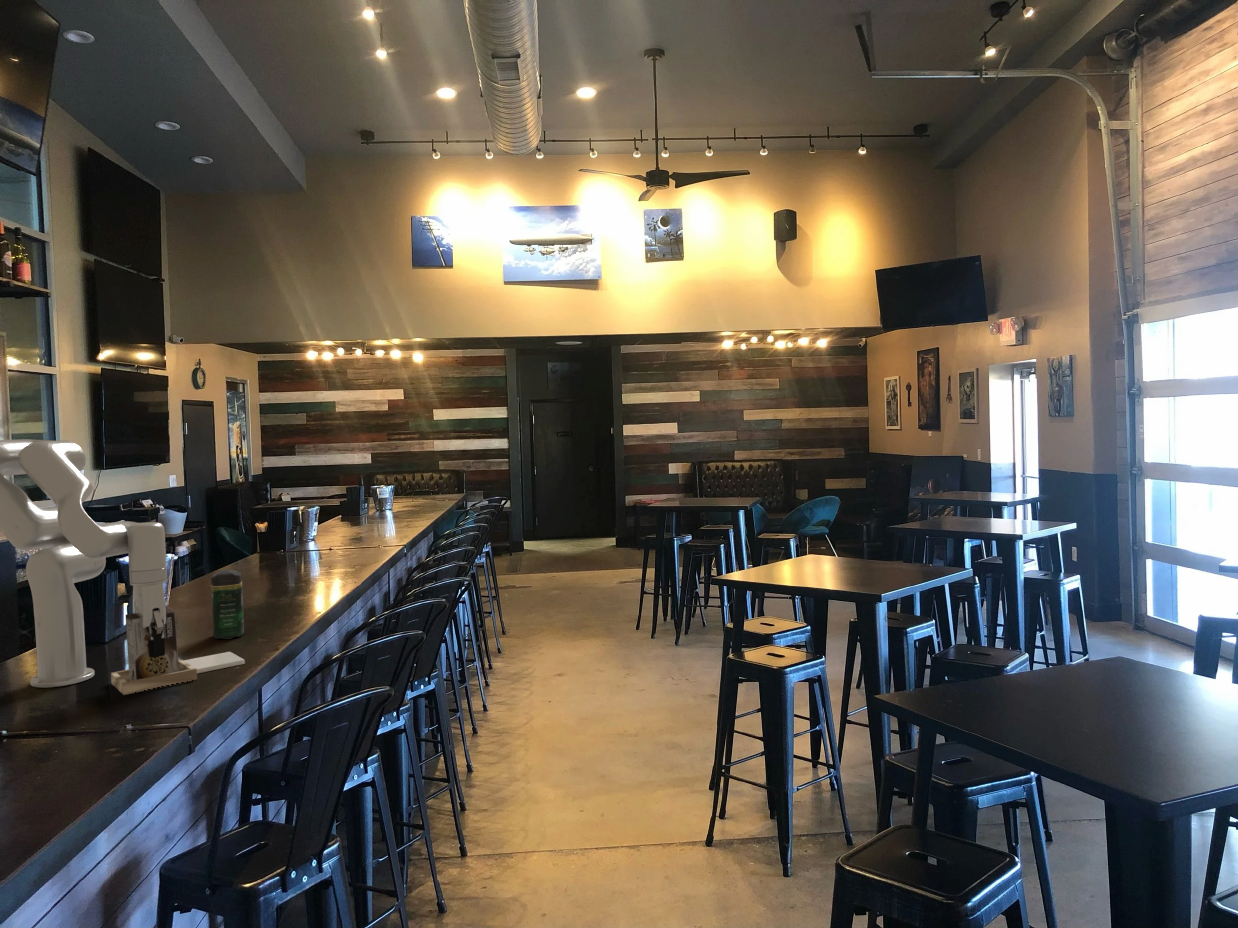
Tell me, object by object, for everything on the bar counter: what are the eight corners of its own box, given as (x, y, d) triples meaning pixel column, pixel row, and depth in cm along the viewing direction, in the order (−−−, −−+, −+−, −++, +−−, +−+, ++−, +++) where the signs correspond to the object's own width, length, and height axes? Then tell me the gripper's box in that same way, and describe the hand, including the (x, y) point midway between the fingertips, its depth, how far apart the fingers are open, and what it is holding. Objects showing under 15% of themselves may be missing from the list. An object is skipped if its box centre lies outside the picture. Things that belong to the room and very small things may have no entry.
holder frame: (111, 683, 195) (110, 672, 195) (182, 669, 205) (181, 659, 205) (123, 694, 186) (123, 683, 186) (197, 679, 196) (196, 668, 196)
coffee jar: (243, 637, 235) (240, 571, 234) (212, 641, 232) (208, 574, 232) (245, 630, 244) (242, 566, 243) (215, 633, 241) (211, 568, 241)
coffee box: (171, 674, 201) (168, 607, 200) (179, 679, 197) (176, 611, 196) (128, 683, 195) (124, 613, 194) (135, 689, 190) (131, 618, 190)
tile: (183, 664, 210) (183, 660, 210) (229, 655, 217) (229, 651, 217) (196, 673, 201) (196, 669, 201) (244, 663, 209) (244, 659, 209)
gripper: (121, 574, 199) (125, 650, 199) (139, 583, 186) (144, 664, 187) (156, 570, 204) (160, 643, 204) (177, 578, 191) (181, 657, 192)
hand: (152, 652), depth 195 cm, fingers closed on coffee box, 6 cm apart
